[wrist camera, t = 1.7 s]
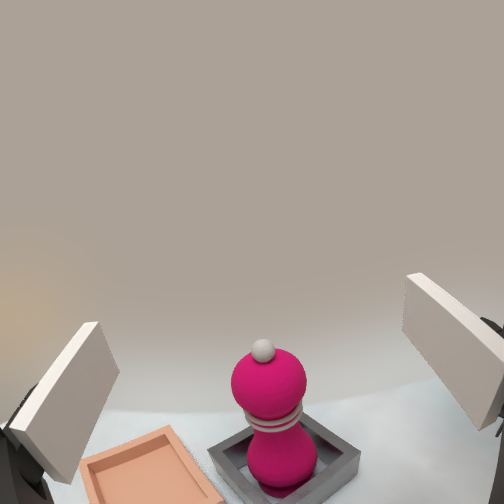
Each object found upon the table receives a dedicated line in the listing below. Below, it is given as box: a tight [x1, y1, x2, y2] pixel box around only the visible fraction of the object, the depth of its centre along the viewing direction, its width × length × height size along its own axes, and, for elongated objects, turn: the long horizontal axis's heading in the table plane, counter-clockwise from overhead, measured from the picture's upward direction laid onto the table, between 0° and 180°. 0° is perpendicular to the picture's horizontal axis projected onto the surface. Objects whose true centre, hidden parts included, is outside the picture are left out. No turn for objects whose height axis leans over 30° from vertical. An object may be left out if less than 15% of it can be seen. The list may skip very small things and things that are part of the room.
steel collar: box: [207, 412, 361, 504], centre depth 28 cm, size 11×11×5 cm
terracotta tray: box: [79, 425, 226, 504], centre depth 26 cm, size 14×14×3 cm
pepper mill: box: [231, 339, 317, 498], centre depth 25 cm, size 7×7×20 cm
